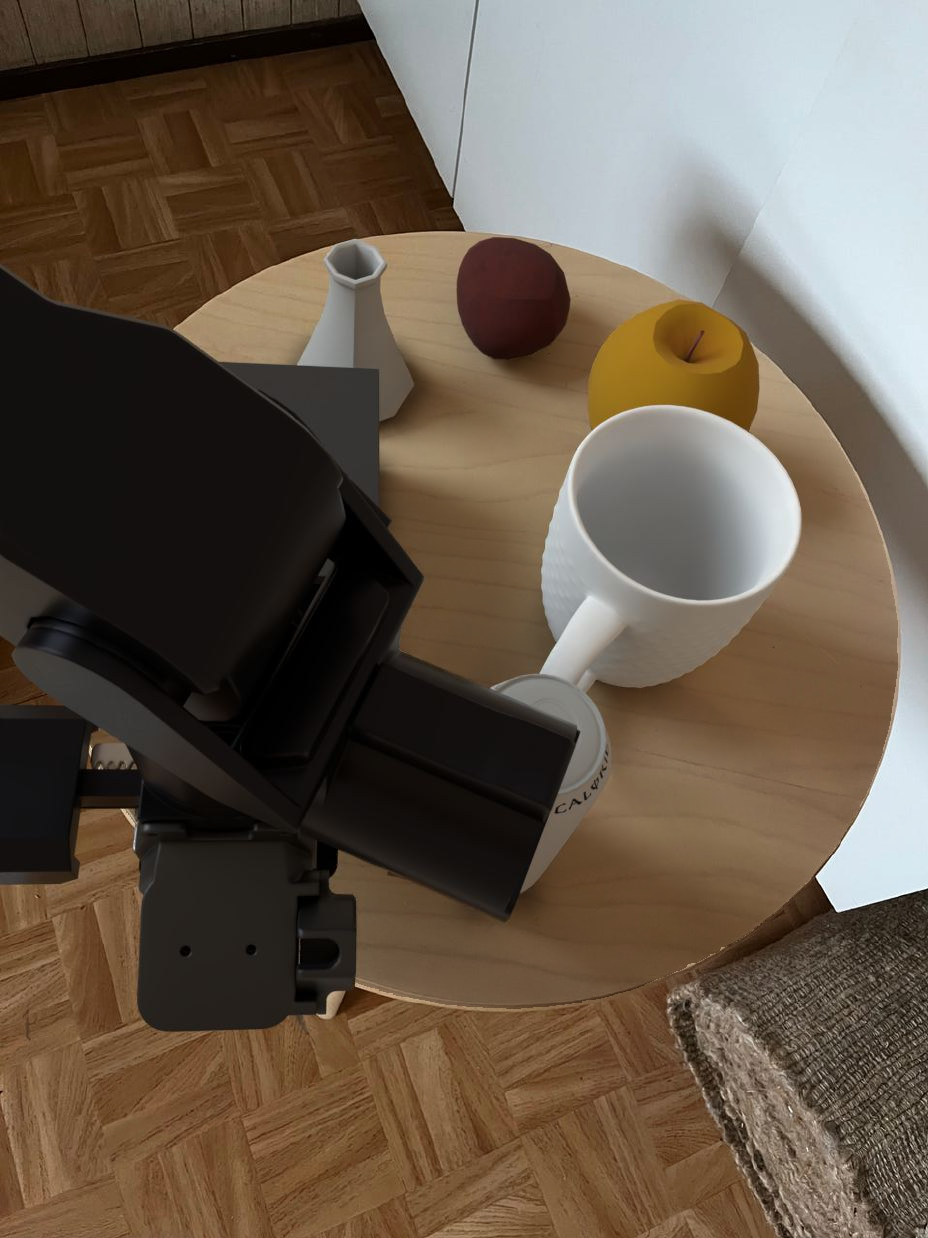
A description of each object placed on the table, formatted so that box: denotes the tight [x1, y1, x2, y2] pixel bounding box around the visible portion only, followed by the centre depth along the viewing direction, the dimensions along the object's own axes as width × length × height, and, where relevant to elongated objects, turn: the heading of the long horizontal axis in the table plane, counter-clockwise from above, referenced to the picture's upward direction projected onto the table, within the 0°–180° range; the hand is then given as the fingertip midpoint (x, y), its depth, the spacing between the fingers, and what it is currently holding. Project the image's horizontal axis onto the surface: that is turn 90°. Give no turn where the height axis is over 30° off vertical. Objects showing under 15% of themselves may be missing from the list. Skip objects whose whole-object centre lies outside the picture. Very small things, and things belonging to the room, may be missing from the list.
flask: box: [296, 238, 415, 422], centre depth 59 cm, size 7×7×10 cm
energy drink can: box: [489, 673, 612, 894], centre depth 44 cm, size 6×6×15 cm
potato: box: [455, 236, 572, 361], centre depth 64 cm, size 7×8×6 cm
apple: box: [587, 299, 760, 432], centre depth 58 cm, size 10×10×12 cm
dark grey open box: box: [218, 361, 381, 584], centre depth 53 cm, size 13×11×9 cm
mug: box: [539, 405, 803, 694], centre depth 51 cm, size 15×11×13 cm
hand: (255, 851), depth 45 cm, fingers closed
